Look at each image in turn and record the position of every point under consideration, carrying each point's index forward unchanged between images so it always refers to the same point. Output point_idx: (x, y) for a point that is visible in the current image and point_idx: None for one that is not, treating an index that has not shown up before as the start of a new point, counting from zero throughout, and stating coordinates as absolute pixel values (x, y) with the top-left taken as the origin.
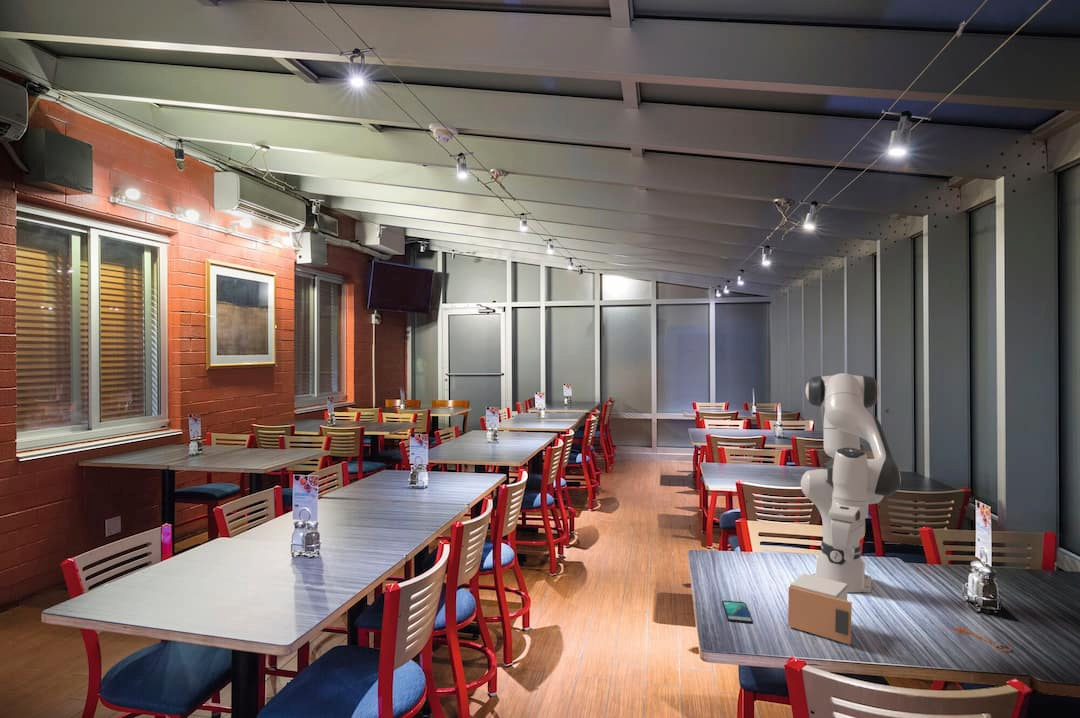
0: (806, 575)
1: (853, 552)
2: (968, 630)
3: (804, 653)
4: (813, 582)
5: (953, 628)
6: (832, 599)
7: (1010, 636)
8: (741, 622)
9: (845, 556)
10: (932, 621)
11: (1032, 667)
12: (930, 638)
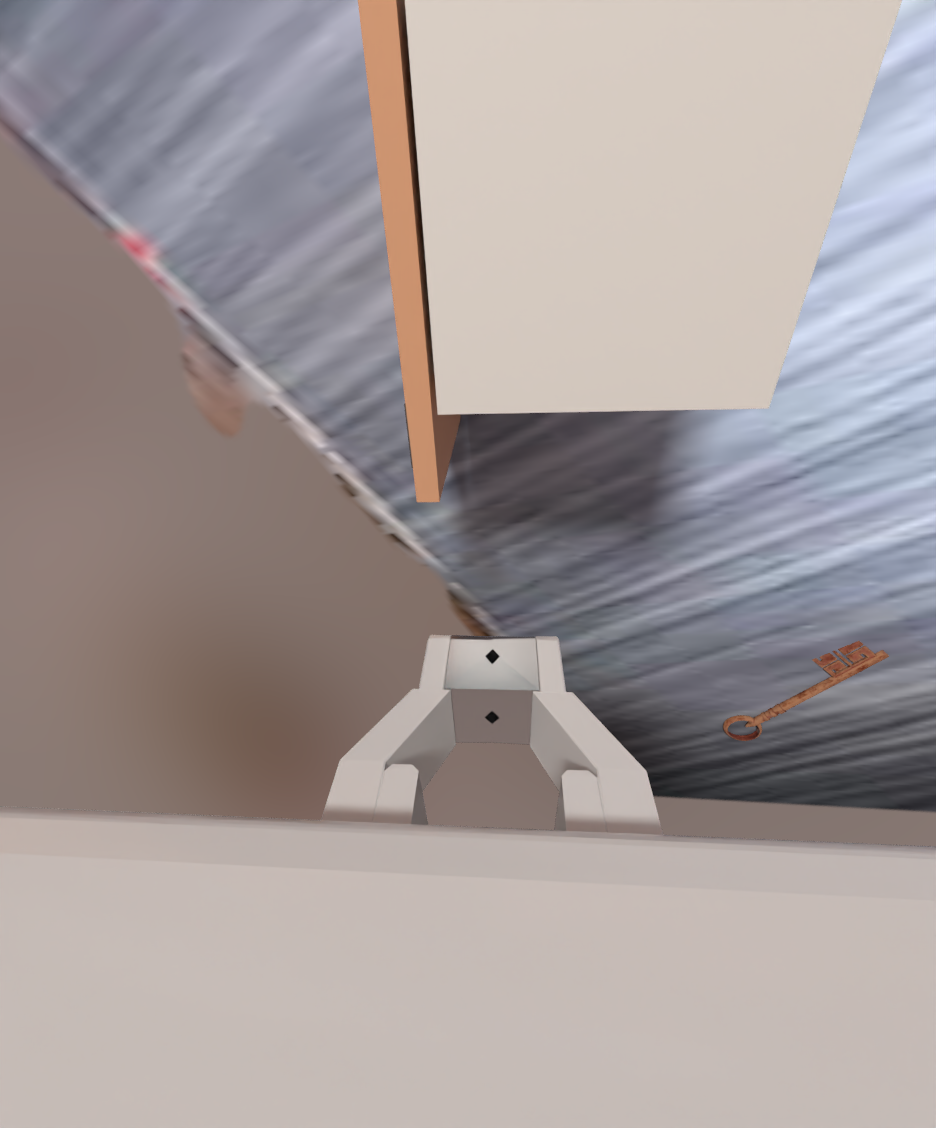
0: None
1: (533, 750)
2: (849, 675)
3: (218, 282)
4: (635, 139)
5: (860, 643)
6: (406, 395)
7: (860, 737)
8: None
9: (427, 670)
10: (911, 593)
11: (657, 759)
12: (720, 603)
